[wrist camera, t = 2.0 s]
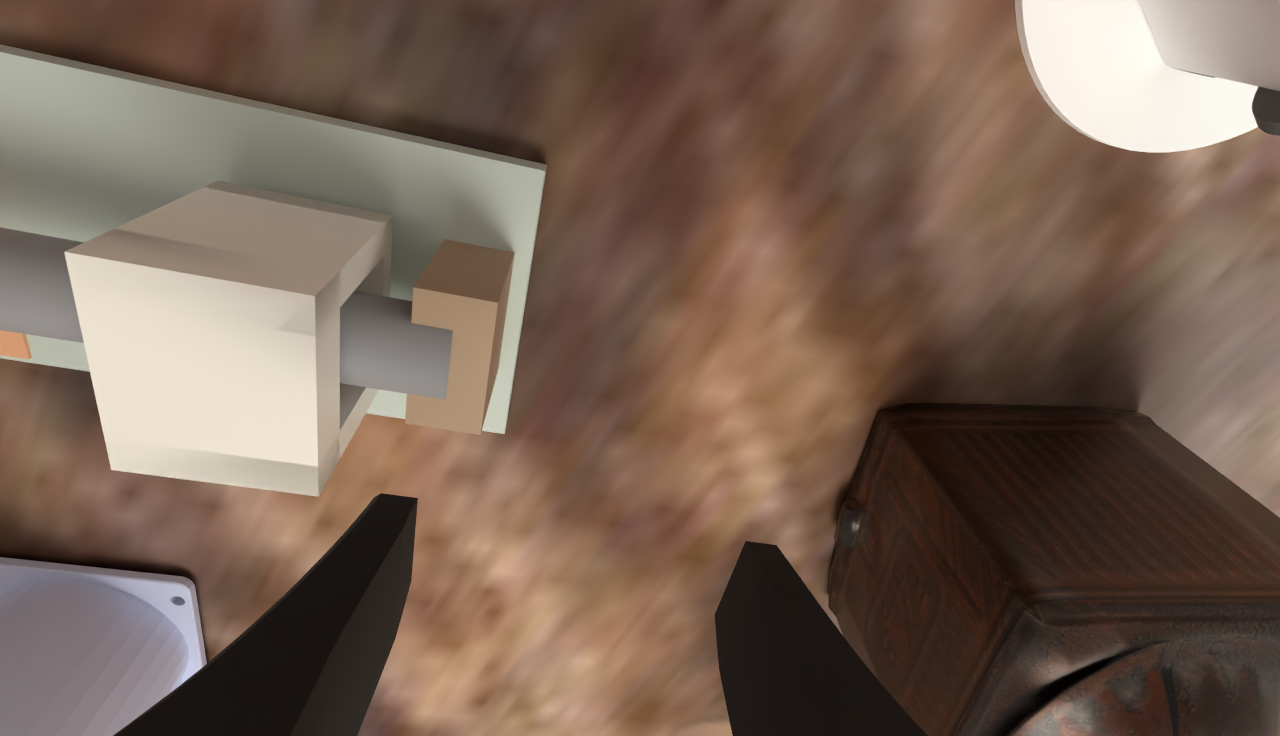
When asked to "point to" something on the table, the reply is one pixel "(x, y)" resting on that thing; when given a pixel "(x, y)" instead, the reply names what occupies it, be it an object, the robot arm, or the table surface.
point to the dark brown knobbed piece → (1057, 576)
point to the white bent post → (1156, 68)
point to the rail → (285, 163)
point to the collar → (228, 335)
